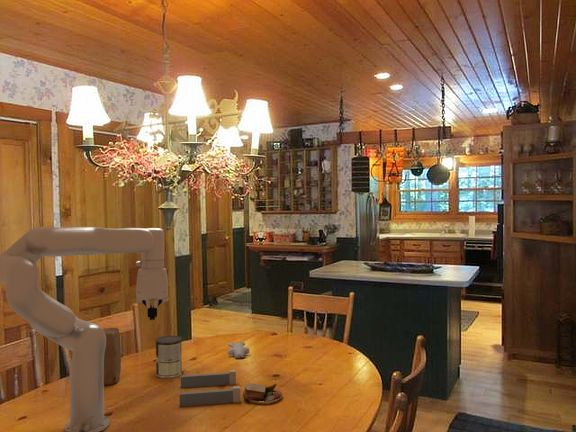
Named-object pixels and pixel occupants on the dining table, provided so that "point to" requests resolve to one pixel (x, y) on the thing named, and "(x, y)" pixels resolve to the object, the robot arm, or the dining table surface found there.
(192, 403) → the chute
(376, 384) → the dining table surface
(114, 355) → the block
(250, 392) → the toy sandwich meal
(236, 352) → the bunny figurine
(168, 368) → the coffee can
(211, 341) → the dining table surface
